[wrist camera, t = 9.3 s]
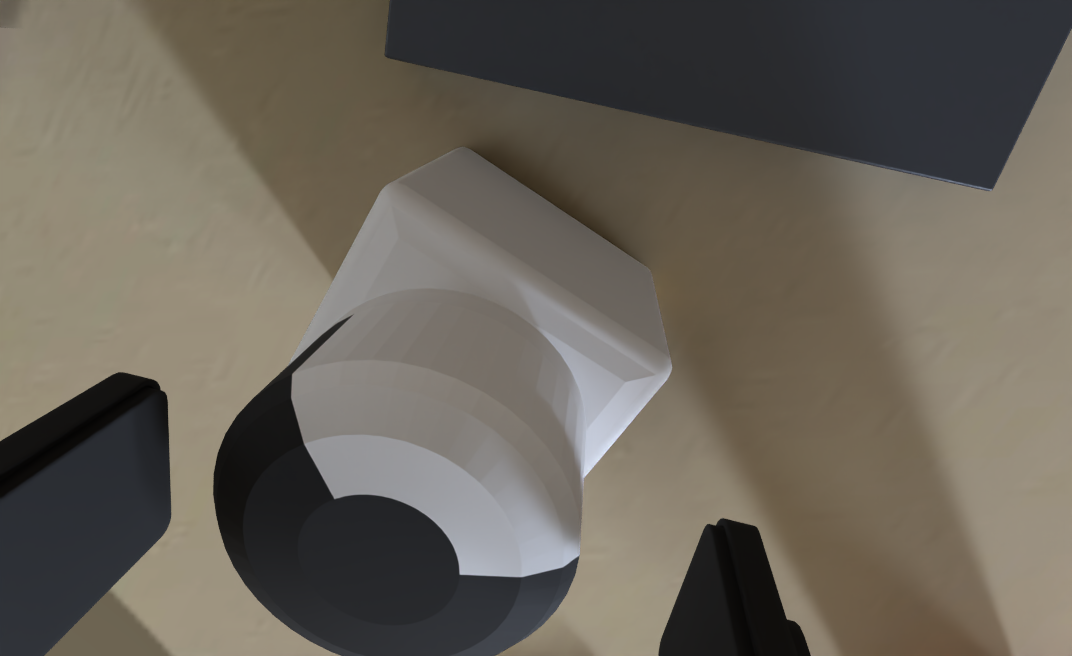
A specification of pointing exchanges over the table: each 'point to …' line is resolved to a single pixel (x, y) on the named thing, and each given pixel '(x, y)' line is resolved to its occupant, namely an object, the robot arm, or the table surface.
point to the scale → (772, 68)
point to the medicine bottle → (441, 421)
